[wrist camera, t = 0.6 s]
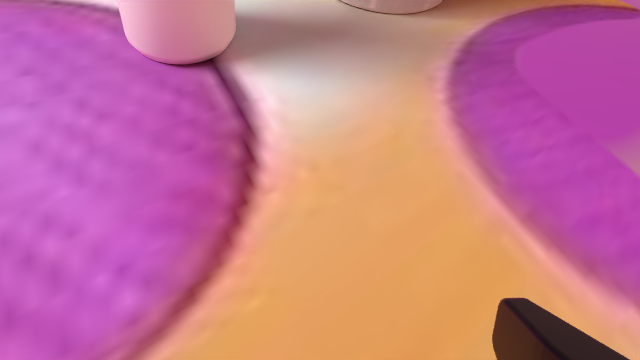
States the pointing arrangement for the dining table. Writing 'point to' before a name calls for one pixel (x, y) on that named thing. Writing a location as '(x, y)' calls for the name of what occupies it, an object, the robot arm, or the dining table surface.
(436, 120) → the dining table surface
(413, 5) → the utensil holder
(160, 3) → the alcohol
